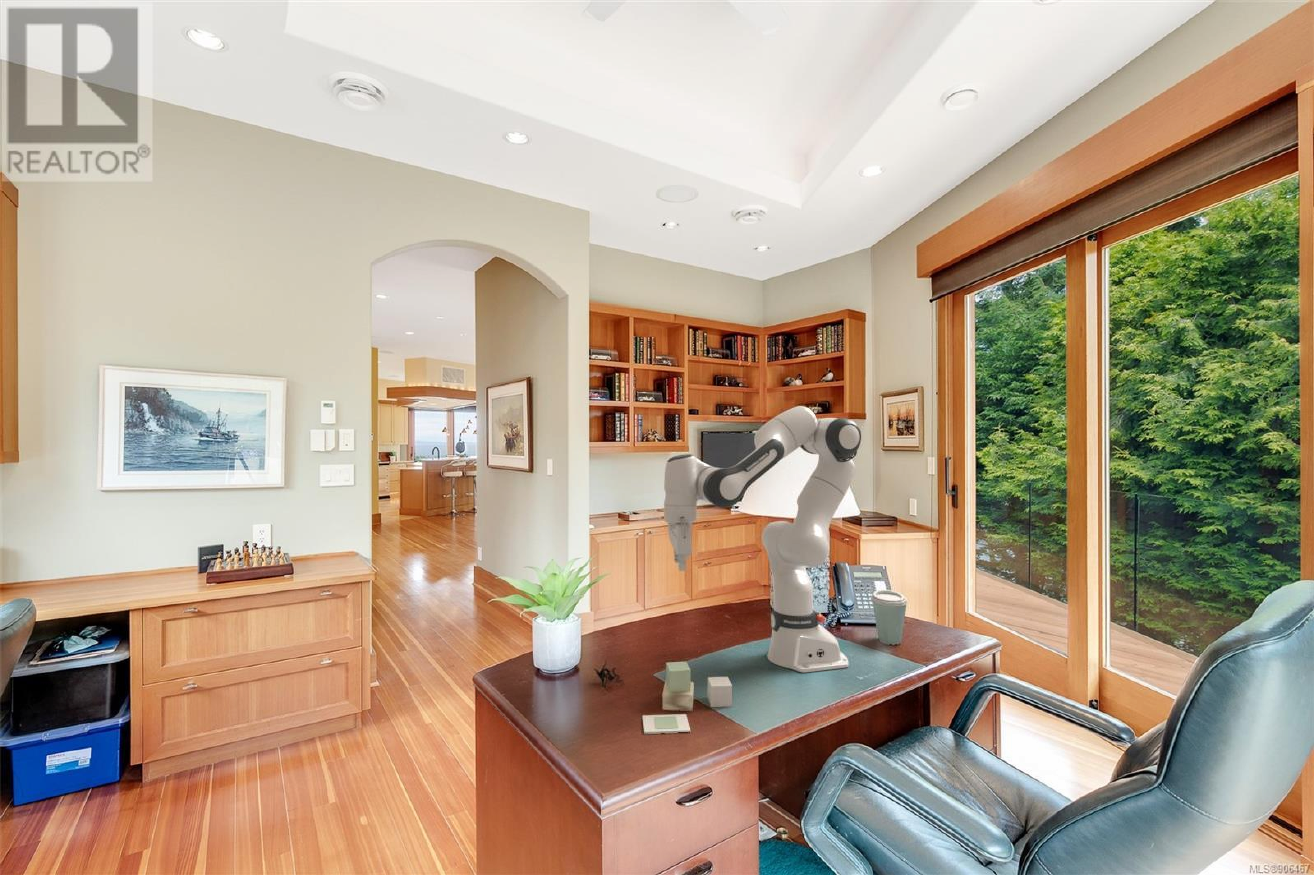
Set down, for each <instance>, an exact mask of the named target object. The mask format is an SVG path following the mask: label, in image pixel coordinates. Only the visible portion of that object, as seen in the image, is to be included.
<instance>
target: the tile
mask: <svg viewBox="0 0 1314 875" xmlns="http://www.w3.org/2000/svg"><path fill="white" fill-rule="evenodd" d="M687 716H688V715H687V714H685V713H684V714H683V713H682V714H681V713H679V714H675V713H674V714H650V715H649V714H648V715H644V714H642V724H643V725H642V726H643V733H644V735H655V734H656V735H658V734H659V735H662V734H661V733H665V734H679V733H678V732H689V731H690V732H691V728H690V723H689V720H688V717H687Z"/></svg>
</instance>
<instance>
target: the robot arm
mask: <svg viewBox="0 0 1314 875" xmlns="http://www.w3.org/2000/svg"><path fill="white" fill-rule="evenodd" d="M753 440H754V441H753V442H754V446H755V450H753V451H752V452H751V453H750V454H748V455H747V456H746V457H745V458H743V459H742V460H740V461H739V462H738V463H737V464H735V465H733V466H730V467H715V466H712V465H710V464H708V463H705V462H703V461H702V460H700V459H699V458H697V457H696V456H695V455H694V454H688V453H687V454H679V455H675V456H672V457H670V458H669V459H668V460H667V461H666V464H665V470H664V482H663V483H664V484H663V486H664V487H663V488H664V493H665V498H664V501H663V521H664V523H667V527H668V537H669V542H670V544H671V546H672V548H673V556H674V559H673V561H674V562H675V563H677V564H678V565H677V566H678V568H677V569H678V570H679V572H686V568H687V567H686V566H687V560H688V557H690V556H692V551H693V550H692V549H693V548H692V546H693V545H692V528H693V525H692V524H693V523H696V522H697V521H698V520H697V518H698V515H697V512H698V511H697V510H698V503H697V502H698V501H699V500H702V501H705V502H708V503H710V504H712V505H714V506H716V507H719V508H722V509H723V508H725V509H728V508H732V507H733V506H735V505H736V504H737V503H739V502H740V501H741V499H742V498H743V497H744V495H745V493H746V491H747V490H748V489H749V488H750V487H751V486H752V485H753V483H755V482H756V481H757V480H758V479H759V478H761V477H762V476H763V475H765V474H766V473H767V472H768V471H770V470H771V469H772V468H773V467H775V465H777V464H778V463H779V462H780V461H781V460H783V459H784V458H785V457H786V458H787V456H789V455H791V454H792V453H793V452H794V451H796V450H797V449H799V448H801V450H803V451H804V452H806V453H807V454H810V455H818V462H817V465H816V468H815V469H814V470H813V472H812V473H811V474H810V477H809V479H808V480H807V482H806V483H805V485H804V486H803V488H802V490H801V492H800V494H799V495H798V497H797V499H796V503H797V513H796V517H795V519H794V521H793V522H789V521H786V520H777V521H772V522H769V523H768V524H767V525H766V526H765V527H764V528H763V529H762V533H761V542H762V543H761V544H762V545H763V546H764V549H765V551H766V552H767V557H768V558H767V559H768V561H769V567H770V570H771V575H772V582H773V586H772V588H773V589H772V590H773V591H772V592H773V607H772V609H771V616H770V617H771V618H770V619H771V620H770V623H771V628H772V631H771V640H770V644H769V648H768V652H767V655H766V657H767V659H768V661H770V662H771V663H772V664H775V665H777V666H780V667H783V668H786V669H791V670H794V671H796V672H800V673H810V672H820V671H828V670H835V669H844V668H848V667H849V664H850V663H849V659H848V657H847V656H846V654H844V653H843V652H842V651H841V649H840V645H839V641H838V640H837V638H836V637H835V636H834V635H833V634H832V633H831V632H829V631H828V630H827V629H826V628H824V626H822V625H821V624H824V623H825V622H826V617H825V616H823V614H820V613H818V612H817V611H815V610H814V598H813V597H814V585H813V581H812V580H811V578H810V576H809V574H808V571H807V568H813V569H814V568H818V567H821V566H822V565H824V564H825V562H826V561H827V560H828V558H829V555H830V544H829V541H828V535H829V534H828V533H829V529H830V526H831V522H832V520H833V517H834V515H835V513H836V511H837V510H838V508H839V506H840V505H841V503H842V501H843V500H844V498H845V496H846V494H847V492H848V490H849V488H850V486H851V483H852V482H853V478H854V475H855V472H856V464H855V463H854V461H853V459H854V458H855V457H856V456H857V454H858V450H859V448H860V446H861V441H862V431H861V428H860V426H859V425H858V423H856V422H855V421H853V420H851V419H848V418H843V417H840V418H837V417H825V418H817V417H816V414H815V413H814V411H812V410H811V409H810V408H808V407H807V406H802V405H797V406H794V407H792V408H789V409H788V410H785V411H783V412H782V413H780V414H779V413H778V415H776V416H774V417H773V418H771V419H770V420H769V421H767V422H765V423H764V424H763V425H761V427H760V428H759V429H757V431H756V432H755V434H754V438H753Z"/></svg>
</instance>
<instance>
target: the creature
mask: <svg viewBox="0 0 1314 875" xmlns="http://www.w3.org/2000/svg"><path fill="white" fill-rule="evenodd" d="M606 665H607V661H605V663H604V665H603V666H602V668H601V670H600V671H599V670H597V669H596V668H593V670H594V671H596V672H595V673H596V674H597V676H598V678H600V680H601V686H602V687H604V689H605V691H607V692H611V688H609V690H608V689H607V686H606V684H607V683H608V682H614V684H616V683H620V684H621V686H622V687H624V685H625V683H624V680H623V677H622V676H621V675H619V674H617V673H616V672H615V670H617V669H616V667H613V668H612V669H611V670H609V669H608V668H606ZM611 672H612V674H611ZM620 678H621V679H620ZM615 679H616V682H615V681H614V680H615Z"/></svg>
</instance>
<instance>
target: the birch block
mask: <svg viewBox="0 0 1314 875" xmlns="http://www.w3.org/2000/svg"><path fill="white" fill-rule="evenodd" d="M694 686H695V683H694V682H693V681H691V684H690V691H685V692H669V689H668V687H667V684H666V680H665V681H664V685H663V690H662V710H665V711H667V710H668V711H679V710H680V712H681V711H683V712H684V711H685V712H693V707H694V700H695V699H694V696H695V694H694V693H695V692H694V691H695V688H694Z"/></svg>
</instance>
